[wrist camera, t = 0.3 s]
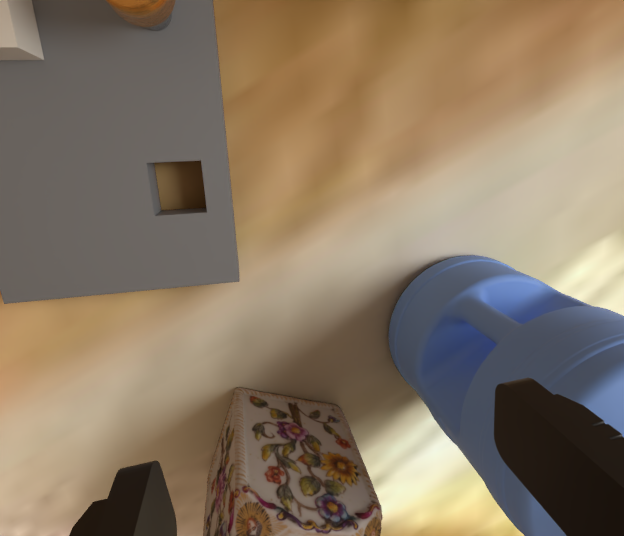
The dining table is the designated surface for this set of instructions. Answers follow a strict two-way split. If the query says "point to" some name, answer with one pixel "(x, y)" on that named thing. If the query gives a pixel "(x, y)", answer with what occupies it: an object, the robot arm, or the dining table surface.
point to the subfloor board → (112, 155)
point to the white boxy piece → (19, 31)
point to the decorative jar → (288, 472)
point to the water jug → (503, 360)
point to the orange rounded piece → (145, 12)
